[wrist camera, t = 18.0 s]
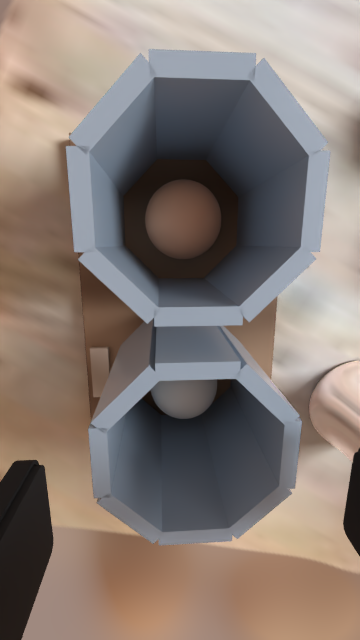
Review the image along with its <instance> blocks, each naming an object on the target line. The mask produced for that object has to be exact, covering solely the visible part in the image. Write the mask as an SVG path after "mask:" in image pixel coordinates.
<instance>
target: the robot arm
mask: <svg viewBox="0 0 360 640" xmlns="http://www.w3.org/2000/svg"><path fill="white" fill-rule="evenodd" d="M343 525H344V530H345V533H346V535H347V537H348V539H349V540H350V542H351V543H352V545H353V547H354V548H355V550H356V551H357V553H358V554H359V556H360V448H359V449H358V452H355V454H354V456H353V463H352V469H351V476H350V482H349V488H348V495H347V501H346V508H345V514H344V521H343ZM52 548H53V532H52V524H51V516H50V508H49V500H48V491H47V483H46V475H45V468H44V466H43V465H39V463H38V461H37V460H24V461H15V462H14V463H13V464H12V466H11V467H10V469H9V470H8V472H7V473H6V475H5V476H4V478H3V479H2V481H1V482H0V640H21V639H22V635H23V633H24V630H25V627H26V624H27V621H28V619H29V616H30V613H31V610H32V607H33V604H34V601H35V599H36V596H37V593H38V590H39V587H40V584H41V582H42V579H43V576H44V573H45V570H46V567H47V564H48V562H49V559H50V556H51V553H52Z"/></svg>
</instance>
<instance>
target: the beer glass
mask: <svg viewBox="0 0 360 640" xmlns="http://www.w3.org/2000/svg"><path fill="white" fill-rule="evenodd" d="M309 414H310V419H311V422H312V424H313V426H314V428H315V429H316V431H317V432H318V433H319V434H320V435H321V436H322V437H323V438H324V439H325V440H326V441H328V442H329V443H330V444H332V445H333V446H334V447H336V448H337V449H338V450H340V451H341V452H342V453H343V454H344V455H346V456H347V457H348V458H349V459H350V461H351V462H352V463H353V456H354V454H355V452H358V449H359V448H360V361H352V362H348V363H345V364H342V365H340V366H338V367H336V368H334V369H332V370H331V371H330V372H328V373H327V374H326V375H325V376H324V377H323V378H322V379H321V380H320V381H319V382H318V384H317V385H316V387H315V389H314V391H313V393H312V396H311V399H310V404H309Z"/></svg>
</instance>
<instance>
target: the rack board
mask: <svg viewBox="0 0 360 640" xmlns="http://www.w3.org/2000/svg"><path fill="white" fill-rule="evenodd" d="M71 134H72V133H69V136H70V135H71ZM70 146H76V145H75V144H74V143H73V142H72V141H71V140H70ZM181 179H186V180H192V181H195V182H198V183H200V184H202V185H204V186H205V187H206V188H208V189H209V190H210V191H211V192H212V194H213V195H214V196H215V198H216V200H217V202H218V204H219V207H220V211H221V228H220V232H219V235H218V237H217V239H216V241H215V242H214V244H213V245H212V246H211V247H210V248H209V249H208V250H207V251H206V252H205V253H203V254H201V255H199V256H197V257H195V258H191V259H175V258H172V257H169V256H167V255H165V254H163V253H162V252H160V251H159V250H158V249H157V248H156V247H155V246H154V245H153V243H152V242H151V240H150V238H149V236H148V233H147V230H146V224H145V214H146V209H147V206H148V203H149V201H150V199H151V197H152V196H153V194H154V193H155V192H156V191H157V190H158V189H159V188H160V187H162V186H163V185H165V184H167V183H168V182H171V181H174V180H181ZM123 197H124V221H125V246H126V247H127V248H128V249H130V250H131V251H132V252H133V253H134V254H135V255H136V256H137V257H138V258H139V259H140V260H141V261H142V262H143V263H144V264H145V265H146V266H147V267H148V268H149V269H150V270H151V271H152V272H153V273H154V274H155V275H156V276H157V277H158V278H204V277H205V276H206V275H207V274H208V273H209V272H210V271H211V270H212V269H213V268H214V267H215V266H216V265H217V264H218V263H219V262H220V261H221V260H222V259H223V258H224V257H225V256H226V255H227V254H228V253H229V252H230V251H231V250H232V249H233V248H234V247H235V246H236V243H237V219H238V196H237V195H236V194H235V193H234V191H233V190H232V189H231V188H230V187H229V186H228V185H227V183H226V182H225V181H224V180H223V179H222V178H221V177H220V175H219V174H218V173H217V172H216V171H215V170H214V169H213V167H212V166H211V165H210V164H209V163H208V162H207V161H206V160H179V159H157V160H156V161H155V162H154V163H153V164H152V165H151V166H150V167H149V169H148V170H147V171H146V172H145V173H144V174H143V175H142V176H141V177H140V178H139V180H138V181H137V182H136V183H135V184H134V185H133V186H132V187H131V188H130V189H129V190H128V192H127V193H126V194H125V195H124V196H123ZM83 253H84V252H78V254H79V258H80V257H81V256H82V255H83ZM79 267H80V280H81V293H82V306H83V320H84V333H85V346H86V359H87V372H88V385H89V398H90V411H91V420H92V418H93V415H94V413H95V410H96V407H97V405H98V402H99V400H100V397H101V394H102V392H103V389H104V387H105V384H106V382H107V379H108V376H109V374H110V371H111V369H112V366H113V363H114V361H115V358H116V356H117V353H118V350H119V348H120V345H121V344H122V343H123V342H124V341H125V340H126V339H127V338H128V337H129V336H130V335H131V334H132V333H133V332H134V331H135V330H136V329H137V328H138V327H139V326H140V325H141V324H142V323H143V322H144V320H143V319H141V318H140V317H139V316H138V315H137V314H136V313H135V312H134V311H133V310H132V309H131V308H130V307H129V306H127V305H126V304H125V303H124V302H123V301H122V300H121V299H120V298H119V297H118V296H117V295H116V294H114V293H113V292H112V291H111V290H110V289H109V288H108V287H107V286H106V285H105V284H104V283H103V282H101V281H100V280H99V279H98V278H97V277H96V276H95V275H94V274H93V273H92V272H91V271H90V270H89V269H87V268H86V267H85V266H84V265H83V264H82V263H81V262H80V261H79ZM276 307H277V297H276V298H275V299H273V300H272V301H271V302H270V303H269V304H268V305H267V306H266V307H265V308H264V309H263V310H262V311H261V312H260V313H259V314H258V315H257V316H256V317H255V318H253V319H252V320H251V321H250V322H248V321H247V320H246V319H245V318H244V317H243V325H227V326H224V327H225V328H226V329H227V330H228V331H229V332H230V333H231V334H232V335H233V336H234V337H236V338H237V339H238V340H239V341H240V342H241V344H242V345H243V346H244V347H245V349H246V350H247V351H248V352H249V353H250V355H251V356H252V357H253V358H254V360H255V361H256V362H257V363H258V365H259V366H260V367H261V368H262V369H263V371H264V372H265V373H266V374H267V376H268V377H269V378H270V379H271V373H272V360H273V347H274V334H275V321H276ZM230 385H231V379H217V392H216V395H215V398H214V400H213V402H212V404H213V403H214V402H215V401H216V400H217V399H218V398H219V397H220V396H221V395H222V394H223V393H224V392H226V391H227V390H228V389H229V388H230ZM142 399H143V400H144V401H145V402H146V403H147V404H149V405H150V406H151V407H152V408H153V409H155V410H156V411H157V412H158V413H159V414H160V415H167V414H166V413H164V412H163V411H162V410H161V409H160V408H159V407H158V406H157V405H156V403H155V401H154V399H153V397H152V394H151V390H150V391H148V392H147V393H146V394H145V395H144V396H143V397H142Z"/></svg>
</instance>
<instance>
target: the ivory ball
mask: <svg viewBox="0 0 360 640" xmlns="http://www.w3.org/2000/svg"><path fill="white" fill-rule="evenodd" d="M216 392H217V379H212V380H174V381H159V382H158V383H157V384H156V385H155V386H154V387H153V388H152V389H151V394H152V397H153V399H154V401H155V403H156V405H157V406H158V407H159V408H160V409H161V410H162V411H163V412H164V413H166V414H167V415H169V416H171V417H174V418H178V419H189V418H193V417H196V416H198V415H200V414H202V413H203V412H205V411H206V410H207V409H208V408H209V407H210V405H211V404H212V402H213V400H214V398H215V395H216Z"/></svg>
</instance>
